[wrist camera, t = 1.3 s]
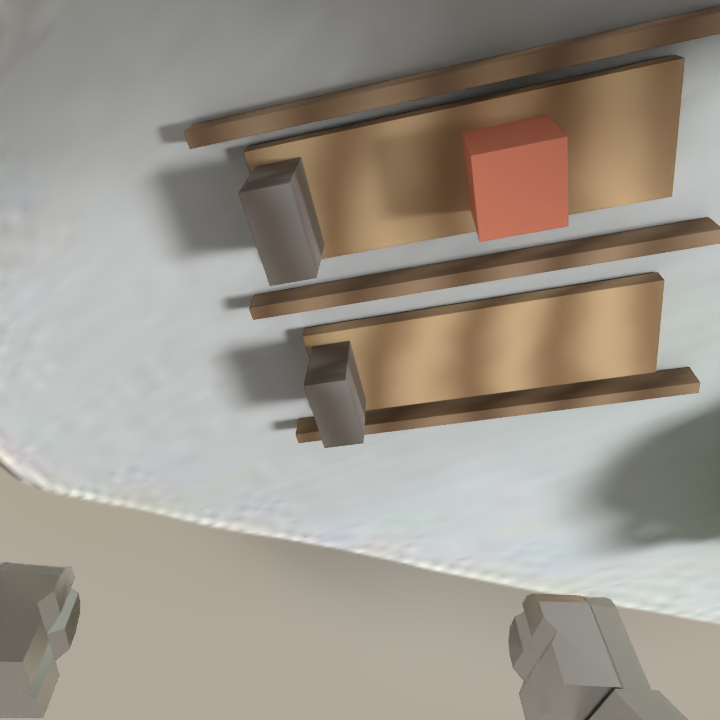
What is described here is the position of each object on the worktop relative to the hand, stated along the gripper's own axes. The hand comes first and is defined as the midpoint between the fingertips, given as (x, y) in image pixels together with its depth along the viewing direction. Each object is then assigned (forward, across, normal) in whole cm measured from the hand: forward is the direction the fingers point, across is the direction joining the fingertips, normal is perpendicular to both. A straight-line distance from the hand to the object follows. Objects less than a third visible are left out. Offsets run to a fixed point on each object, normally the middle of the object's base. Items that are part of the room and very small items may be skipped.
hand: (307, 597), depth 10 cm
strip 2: (+31, -14, +14) cm, 37 cm away
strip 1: (+31, -8, +1) cm, 33 cm away
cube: (+30, -11, 0) cm, 32 cm away
